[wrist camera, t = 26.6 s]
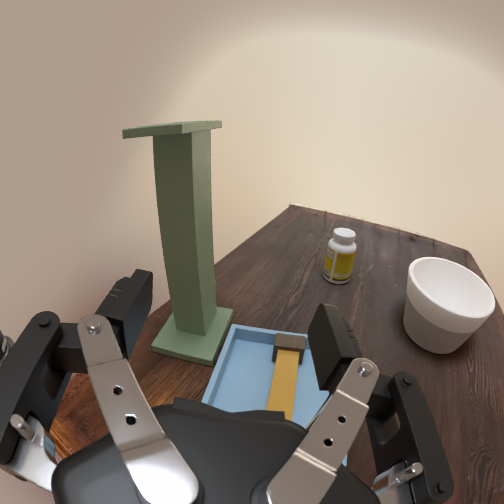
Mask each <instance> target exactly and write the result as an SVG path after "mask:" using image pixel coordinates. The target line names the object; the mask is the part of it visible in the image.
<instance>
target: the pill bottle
mask: <svg viewBox="0 0 504 504" xmlns="http://www.w3.org/2000/svg"><path fill="white" fill-rule="evenodd" d="M355 235H356V234H355V232H354V231H352V230H350V229H346V228H336V229H335V230H334V232H333V238H332V239H331V240H330V241H329V243H328V249H327V255H326V261H325V267H324V273H323V275H324V278H325V279H326V280H327V281H329V282H331V283H334V284H344V283H346V282H348V281H349V279H350V276H351V271H352V267H353V262H354V258H355V253H356V244H355V243H354V240H355Z"/></svg>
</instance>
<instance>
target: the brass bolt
mask: <svg viewBox="0 0 504 504" xmlns="http://www.w3.org/2000/svg"><path fill="white" fill-rule="evenodd" d="M305 344H306V336H298V335H290V334H283V333H276V337H275V342H274V347H273V354H272V361H274V362H276V363H275V368H274V373H273V378H272V383H271V388H270V393H269V397H268V402H267V406H266V410H270V411H284V412H285V419H288V420H290V421H292V415H293V407H294V399H295V390H296V381H297V372H298V365H302V361H303V357H304V352H305Z"/></svg>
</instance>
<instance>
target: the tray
mask: <svg viewBox="0 0 504 504" xmlns="http://www.w3.org/2000/svg"><path fill="white" fill-rule="evenodd" d="M276 333H283V334H290V335H298V336H306V344H305V352H304V357H303V361H302V365H298V372H297V381H296V390H295V399H294V407H293V415H292V421H293V422H295V423H297V424H299V425H301V426H302V427H304V428H306V427H307V425H308V424H309V423H310V421H311V420H312V419H313V417H314V416H315V414H316V413H317V411H318V410H319V408H320V407H321V405H322V404H323V402H324V401H325V399H326V398H327V397H328V395H329V392H328V391H319V387H318V382H317V377H316V373H315V368H314V364H313V359H312V355H311V350H310V346H309V342H308V335H305V334H297V333H289V332H282V331H275V330H268V329H261V328H255V327H248V326H242V325H237V324H232V325H231V328H230V330H229V333H228V336H227V338H226V341H225V343H224V346H223V348H222V351H221V353H220V356H219V358H218V361H217V363H216V366H215V369H214V371H213V374H212V376H211V379H210V381H209V384H208V386H207V389H206V391H205V394H204V396H203V399H202V401H201V402H203V403H205V404H208V405H211V406H213V407H216V408H219V409H221V410H224V411H227V412H242V411H251V410H266V406H267V402H268V397H269V393H270V388H271V383H272V378H273V373H274V368H275V363H276V362H274V361H272V354H273V347H274V342H275V337H276ZM346 463H347V454H346V456H345V458H344V459H343V461H342V464H343V465H344V466H346Z"/></svg>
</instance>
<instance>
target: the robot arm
mask: <svg viewBox="0 0 504 504" xmlns="http://www.w3.org/2000/svg"><path fill="white" fill-rule="evenodd" d="M152 287H153V273H152V272H150V271H145V270H140V269H136V270H135V272H134V273H133V275H132V276H131V278H128V277H124V278H122V279H120V280H119V281H117V282H116V283H115V285H114V286H113V288H112V290H110V292H109V294H108V295H107V296H106V298H105V299H104V301H103V302H102V303H101V305H100V306H99V308H98V309H97V311H96V312H95V314H92V315H87V316H85V317H83V318H82V319H81V320H80V321H79V322H78V323H76V324H75V323H60V320H59V317H58V316H57V315H56V314H55V313H53V312H50V311H44V312H40V313H38V314H36V315H35V316H34V317H33V318H32V319H31V321H30V322H29V324H28V325H27V326H26V328H25V329H24V331H23V332H22V334H21V335H20V337H19V338H18V340H17V341H16V343H15V344H14V346H13V347H12V349H11V350H10V345H9V343H8V342H7V339H6V338H5V337H4V336H3V334H2V332H1V331H0V468H2V469H3V470H4V471H6V472H7V473H9V474H11V475H13V476H15V477H17V478H18V479H20V480H22V481H29V482H32V483H33V484H35V485H37V486H39V487H40V488H43V489H44V490H46V491H49V492H51V493H52V494H53V497H54V501H55V504H441V503H443V502H445V501H447V500H448V499H449V498H450V497H451V496H452V494H453V491H454V482H453V478H452V474H451V471H450V467H449V464H448V461H447V457H446V454H445V451H444V448H443V445H442V442H441V439H440V436H439V433H438V430H437V428H436V425H435V422H434V420H433V417H432V414H431V412H430V409H429V406H428V404H427V401H426V399H425V397H424V394H423V392H422V389H421V387H420V385H419V382H418V380H417V378H416V377H415V376H414V375H413V374H412V373H410V372H409V371H406V370H399V371H397V372H396V373H395V374H394V376H393V377H392V376H388V375H385V374H381V373H379V370H378V368H377V367H376V365H375V364H374V363H373V362H371V361H370V360H368V359H365V358H364V356H363V354H362V351H361V349H360V346H359V344H358V342H357V339H355V338H356V337H355V334H354V333H353V330H352V327H351V325H350V323H349V322H348V321H347V320H346V319H345V318H344V316H340V314H339V311H338V309H337V307H336V306H335V305H330V304H323V303H321V304H320V305H319V306H318V308H317V311H316V313H315V315H314V317H313V320H312V322H311V324H310V326H309V329H308V342H309V346H310V350H311V355H312V359H313V364H314V368H315V373H316V377H317V382H318V387H319V391H328V392H329V395H328V397H327V398H326V399H325V401H324V402H323V404H322V405H321V407H320V408H319V410H318V411H317V413H316V414H315V416H314V417H313V419H312V420H311V421H310V423H309V424H308V425H307V427H306V428H304V427H302V426H301V425H299V424H297V423H295V422H293V421H290V420H288V419H285V412H284V411H270V410H251V411H242V412H227V411H224V410H221V409H219V408H216V407H213V406H211V405H208V404H205V403H203V402H198V401H192V400H187V399H182V398H177V397H175V399H174V403H173V404H166V405H159V406H155V407H152V408H150V406H149V404H148V402H147V400H146V398H145V396H144V394H143V392H142V390H141V388H140V386H139V384H138V382H137V380H136V378H135V376H134V374H133V372H132V369H131V367H130V365H129V363H128V361H127V360H129V358H130V355H131V353H132V351H133V348H134V346H135V343H136V341H137V339H138V337H139V334H140V332H141V330H142V327H143V325H144V323H145V321H146V318H147V316H148V314H149V312H150V309H151V305H152V290H153V289H152ZM72 373H87V374H89V377H90V380H91V383H92V386H93V389H94V392H95V395H96V398H97V401H98V403H99V406H100V409H101V411H102V414H103V417H104V419H105V422H106V424H107V426H108V429H109V431H110V433H108V434H106V435H105V436H103V437H101V438H100V439H98V440H96V441H94V442H93V443H91V444H89V445H88V446H86V447H84V448H82V449H81V450H79V451H77V452H75V453H73V454H72V455H70V456H68V457H66V458H64V459H63V460H61V461H60V462H59V463H58V464H57V462H56V459H55V442H54V440H53V438H52V436H51V435H50V434H49V431H50V428H51V425H52V422H53V419H54V417H55V414H56V411H57V409H58V406H59V404H60V401H61V399H62V396H63V394H64V391H65V389H66V386H67V384H68V382H69V379H70V377H71V375H72ZM396 412H397V414H398V417H399V420H400V429H398V426H397V422H396V419H395V416H394V414H395V413H396ZM364 418H366V422H367V426H368V431H369V435H370V440H371V445H372V450H373V455H374V460H375V465H376V470H377V477H376V479H375V480H374V484H373V488H372V489H371V488H369V487H368V486H367V485H366V484H365V483H364V482H362V481H361V480H360V479H359V478H358V477H357V476H356V475H354V474H353V473H352V472H351V471H350V470H349V469H348V468H347V467H346V466H344V465H343V464H342V461H343V459H344V458H345V456H346V454H347V452H348V450H349V449H350V447H351V445H352V443H353V441H354V439H355V437H356V435H357V433H358V431H359V429H360V427H361V425H362V423H363V421H364Z"/></svg>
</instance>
